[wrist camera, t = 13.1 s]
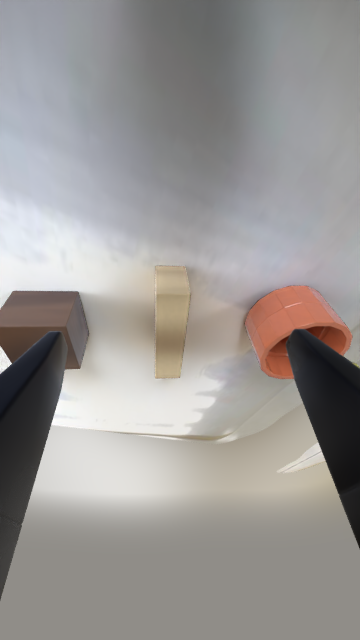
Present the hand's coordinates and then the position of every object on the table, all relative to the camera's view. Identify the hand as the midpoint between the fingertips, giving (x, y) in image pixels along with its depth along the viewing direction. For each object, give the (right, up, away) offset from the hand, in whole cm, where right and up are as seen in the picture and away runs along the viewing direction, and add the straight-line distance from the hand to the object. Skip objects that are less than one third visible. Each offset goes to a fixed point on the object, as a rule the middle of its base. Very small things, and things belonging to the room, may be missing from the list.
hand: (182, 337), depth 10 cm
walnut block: (-12, +1, +14) cm, 19 cm away
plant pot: (+11, +1, +17) cm, 20 cm away
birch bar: (-1, +1, +15) cm, 15 cm away
